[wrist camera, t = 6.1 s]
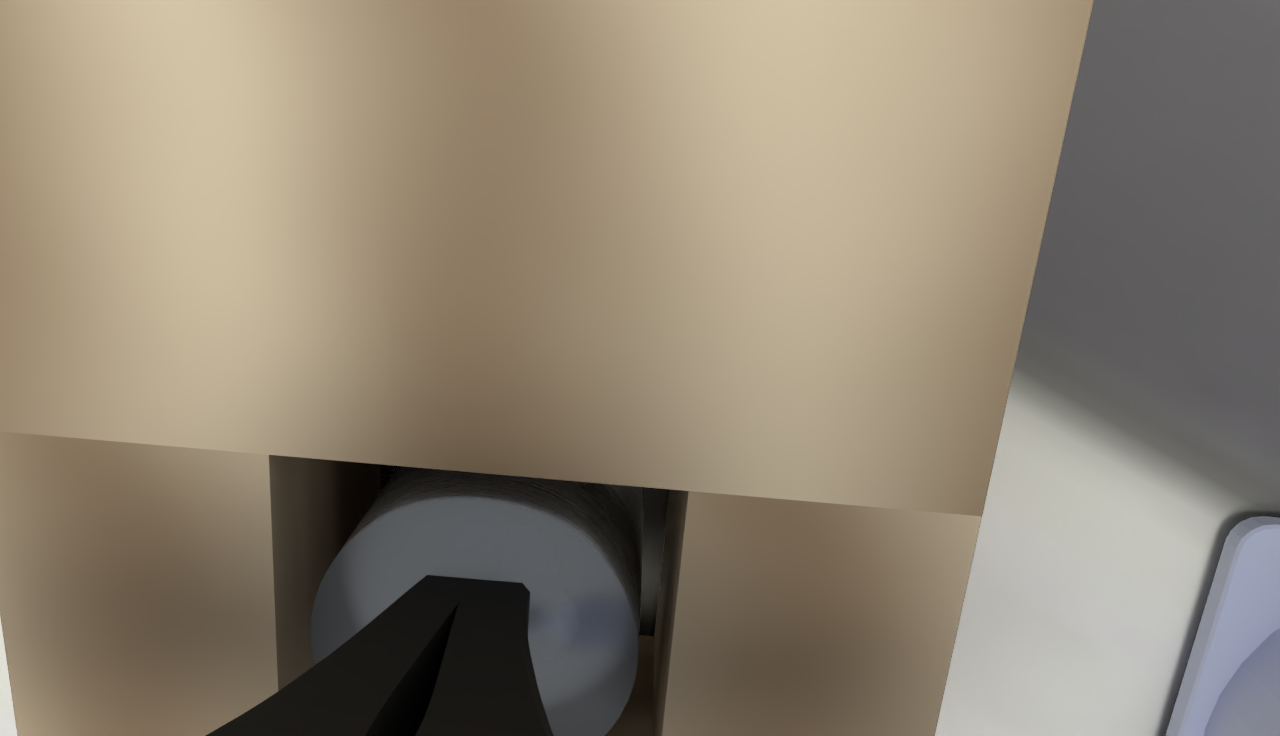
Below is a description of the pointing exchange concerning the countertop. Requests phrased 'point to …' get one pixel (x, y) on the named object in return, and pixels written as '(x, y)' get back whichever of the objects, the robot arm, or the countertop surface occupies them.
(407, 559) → the peg
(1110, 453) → the countertop surface
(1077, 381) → the countertop surface
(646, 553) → the countertop surface
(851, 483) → the socket block
